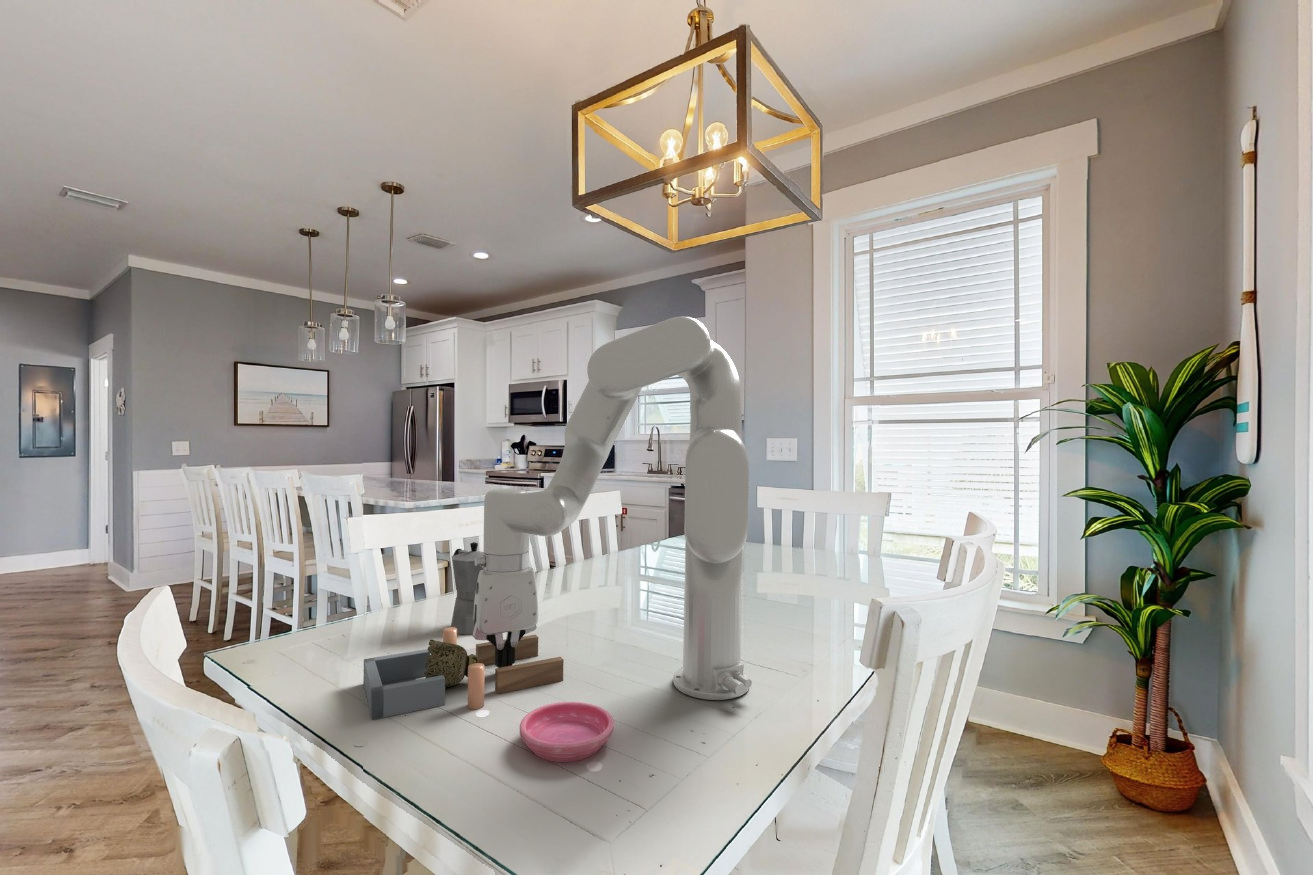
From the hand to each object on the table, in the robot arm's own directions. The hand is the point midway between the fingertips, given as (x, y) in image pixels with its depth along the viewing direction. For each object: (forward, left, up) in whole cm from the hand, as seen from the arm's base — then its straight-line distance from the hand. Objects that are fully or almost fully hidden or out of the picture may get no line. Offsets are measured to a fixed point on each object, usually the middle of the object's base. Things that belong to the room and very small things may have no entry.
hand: (504, 669), depth 102 cm
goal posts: (0, +7, -1) cm, 7 cm away
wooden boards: (0, -2, -1) cm, 3 cm away
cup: (-1, +5, +2) cm, 5 cm away
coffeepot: (+28, -1, -1) cm, 28 cm away
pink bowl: (-26, -1, -1) cm, 26 cm away
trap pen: (0, +16, -1) cm, 16 cm away
